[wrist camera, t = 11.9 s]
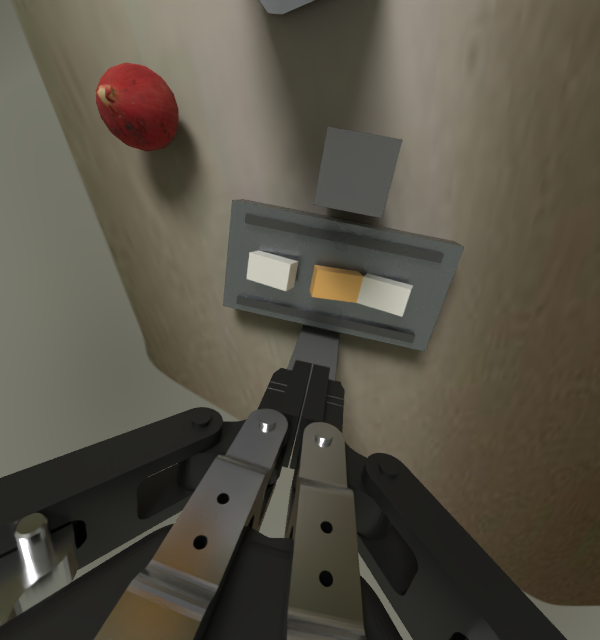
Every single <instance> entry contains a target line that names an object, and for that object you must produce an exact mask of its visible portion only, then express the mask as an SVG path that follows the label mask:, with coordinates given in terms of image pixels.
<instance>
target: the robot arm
mask: <svg viewBox="0 0 600 640" xmlns="http://www.w3.org/2000/svg"><path fill="white" fill-rule="evenodd" d="M311 367H312V363H309V362H304V361H300V360H296V361H295V363H294V366H293V369H292V370H288V369H284V368H280V369H279V370H278V371H276V372H275V373H274V374H273V376H272V378H271V380H270V383H269V385H268V387H267V389H266V392H265V394H264V396H263V398H262V401H261V403H260V405H259V407H258V410H256V411H254V412H252V413H251V414H250V415H249V416H248V418H247V419H246V420H243V421H238V422H223V420H222V416H221V415H220V414H219V413H218V412H217V411H215V410H213V409H210V408H204V407H200V408H193V409H190V410H188V411H185V412H182V413H179V414H176V415H174V416H171V417H168V418H166V419H163V420H160V421H157V422H154V423H151V424H149V425H146V426H143V427H140V428H138V429H135V430H132V431H129V432H127V433H124V434H121V435H118V436H115V437H113V438H110V439H107V440H105V441H102V442H99V443H96V444H93V445H90V446H88V447H85V448H82V449H79V450H77V451H74V452H71V453H68V454H66V455H63V456H60V457H57V458H54V459H52V460H49V461H46V462H44V463H41V464H38V465H35V466H33V467H30V468H27V469H24V470H22V471H19V472H16V473H13V474H11V475H7V476H5V477H2V478H0V640H403V639H402V637H401V636H400V634H399V632H398V630H397V629H396V627H395V625H394V624H393V622H392V620H391V618H390V617H389V615H388V613H387V611H386V610H385V608H384V606H383V604H382V603H381V601H380V599H379V598H378V596H377V595H376V593H375V592H374V591H373V589H372V588H371V587H370V585H369V584H368V583H367V582H366V581H365V580H364V578H362V577H361V576H360V572H359V559H358V552H359V554H360V556H361V557H362V559H363V560H364V562H365V563H366V565H367V567H368V568H369V570H370V571H371V573H372V575H373V576H374V578H375V579H376V581H377V583H378V584H379V586H380V587H381V589H382V591H383V592H384V594H385V595H386V597H387V599H388V600H389V602H390V603H391V605H392V607H393V608H394V610H395V611H396V613H397V614H398V616H399V618H400V619H401V621H402V623H403V624H404V626H405V627H406V629H407V630H408V632H409V634H410V635H411V637H412V639H413V640H567V639H566V638H565V637H564V636H563V635H562V633H561V632H560V631H559V630H558V629H557V628H556V627H555V626H554V625H553V624H552V623H551V622H550V621H549V620H548V619H547V617H545V615H544V614H543V613H542V612H541V611H540V610H539V609H538V608H537V607H536V606H535V605H534V603H533V602H532V601H531V600H530V599H529V598H528V597H527V596H526V595H525V594H524V593H523V592H522V591H521V590H520V588H519V587H518V586H517V585H516V584H515V583H514V582H513V581H512V580H511V579H510V578H509V577H508V576H507V574H506V573H505V572H504V571H503V570H502V569H501V568H500V567H499V566H498V565H497V564H496V563H495V562H494V561H493V559H492V558H491V557H490V556H489V555H488V554H487V553H486V552H485V551H484V550H483V549H482V548H481V547H480V546H479V544H478V543H477V542H476V541H475V540H474V539H473V538H472V537H471V536H470V535H469V534H468V533H467V532H466V531H465V529H464V528H463V527H462V526H461V525H460V524H459V523H458V522H457V521H456V520H455V519H454V518H453V517H452V516H451V514H450V513H449V512H448V511H447V510H446V509H445V508H444V507H443V506H442V505H441V504H440V503H439V502H438V501H437V499H436V498H435V497H434V496H433V495H432V494H431V493H430V492H429V491H428V490H427V489H426V488H425V487H424V486H423V484H422V483H421V482H420V481H419V480H418V479H417V478H416V477H415V476H414V475H413V474H412V473H411V472H410V470H409V469H408V468H407V467H406V466H405V465H404V464H403V463H402V462H401V461H399V460H398V459H397V458H395V457H393V456H391V455H388V454H384V453H375V454H372V455H370V456H369V457H368V458H366V457H364V456H362V455H360V454H358V453H357V452H355V451H354V450H352V449H351V448H350V447H349V446H348V445H347V444H346V442H345V440H344V436H343V434H342V424H343V406H344V388H343V387H342V385H341V383H340V382H338V381H334V380H330V379H329V373H330V367H326V366H321V365H317V364H314V365H313V369H312V373H311V377H310V381H309V376H310V372H311ZM308 381H309V386H308V390H307V385H308ZM306 390H307V394H306ZM305 394H306V398H305ZM304 399H305V402H304ZM303 403H304V406H303ZM302 407H303V410H302ZM301 411H302V415H301ZM300 416H301V419H300ZM299 420H300V423H299ZM298 424H299V428H298ZM297 428H298V432H297ZM296 432H297V437H296V441H295V446H294V450H293V455H292V460H291V464H290V468H291V469H295V471H294V476H293V481H292V485H291V489H290V496H289V504H288V512H287V519H286V527H285V535H284V538H269V537H266V536H264V535H263V534H261V533H259V530H260V527H261V524H262V522H263V519H264V516H265V513H266V511H267V508H268V505H269V503H270V500H271V497H272V494H273V492H274V489H275V486H276V482H277V479H278V478H279V476H280V472H281V468H282V466H283V467H288V465H289V460H290V456H291V452H292V448H293V444H294V440H295V436H296ZM176 463H177V464H176ZM174 464H175V465H174ZM172 465H173V466H172ZM170 466H171V467H170ZM168 467H169V468H168ZM166 468H167V469H166ZM163 469H165V470H163ZM161 470H163V471H161ZM159 471H160V472H159ZM157 472H158V473H157ZM155 473H156V474H155ZM153 474H154V475H153ZM151 475H152V476H151ZM149 476H150V477H149ZM147 477H148V478H147ZM180 511H182V512H181V514H180V515H179V517H178V518H177V520H176V522H175V523H174V524H171V525H168V526H165V527H163V528H161V529H158V530H156V531H154V532H153V533H151V534H149V535H147V536H146V537H144V538H143V539H141V540H139V541H138V542H136V543H134V544H133V545H131V546H129V547H128V548H126V549H125V550H123V551H121V552H120V553H118V554H116V555H115V556H113V557H112V558H110V559H109V560H107V561H105V562H104V563H102V564H100V565H99V566H97V567H95V568H94V569H92V570H91V571H89V572H87V573H86V574H84V575H82V576H81V577H79V578H78V579H76V580H74V581H73V579H74V577H75V575H76V573H77V570H78V569H80V568H82V567H84V566H86V565H88V564H89V563H91V562H93V561H95V560H96V559H98V558H100V557H101V556H103V555H105V554H107V553H109V552H110V551H112V550H114V549H115V548H117V547H119V546H121V545H122V544H124V543H126V542H128V541H129V540H131V539H133V538H135V537H136V536H138V535H140V534H142V533H143V532H145V531H147V530H149V529H151V528H152V527H154V526H156V525H158V524H159V523H161V522H163V521H165V520H166V519H168V518H170V517H172V516H173V515H175V514H177V513H179V512H180ZM72 581H73V582H72Z"/></svg>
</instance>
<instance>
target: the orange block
mask: <svg viewBox="0 0 600 640" xmlns="http://www.w3.org/2000/svg"><path fill="white" fill-rule="evenodd" d="M362 280H363V276H362V275H361V273H360V272H359V271H353V270H346V269H340V268H333V267H326V266H319V265H315V266H314V271H313V276H312V281H311V286H310V293H311V296H312V297H316V298H323V299H331V300H339V301H346V302H354V303H357V299H358V296H359V292H360V288H361V284H362Z"/></svg>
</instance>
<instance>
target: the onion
mask: <svg viewBox="0 0 600 640" xmlns="http://www.w3.org/2000/svg"><path fill="white" fill-rule="evenodd" d="M96 104H97V107H98V110H99V113H100V116H101V118H102V120H103V121H104V123H105V124H106V126H107V127H108V129H109V130H110V132H111V133H112V134H113V135H114V136H116V137H117V138H118V139H120V140H121V141H122V142H123V143H125V144H126V145H128V146H130V147H133V148H137V149H140V150H143V151H153V150H157V149H161V148H165V147H166V146H167V145H168V144H169V143H170V142H171V141H172V140H173V139H174V136H175V133H176V130H177V127H178V107H177V103H176V100H175V97H174V94H173V92H172V91H171V89H170V88H169V87H168V85H167V84H166V82H165V81H164V80H163V79H162V78H161V77H160V76H159V75H158V74H156V73H155V72H153V71H152V70H150V69H149V68H148V67H146V66H142V65H137V64H131V63H123V64H120V65H117V66H114V67H111V68H109V69H108V70H107V71H106V73H105V74H104V75H103V76H102V77H101V79H100V81H99V84H98V87H97V89H96Z"/></svg>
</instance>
